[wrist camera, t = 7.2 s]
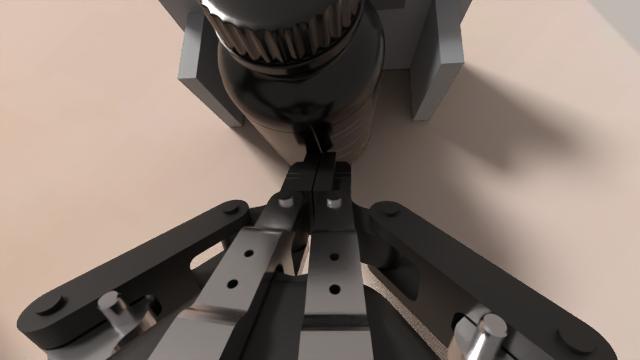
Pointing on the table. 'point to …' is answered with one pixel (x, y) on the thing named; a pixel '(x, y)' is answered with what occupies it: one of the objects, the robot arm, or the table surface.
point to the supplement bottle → (302, 71)
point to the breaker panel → (400, 53)
